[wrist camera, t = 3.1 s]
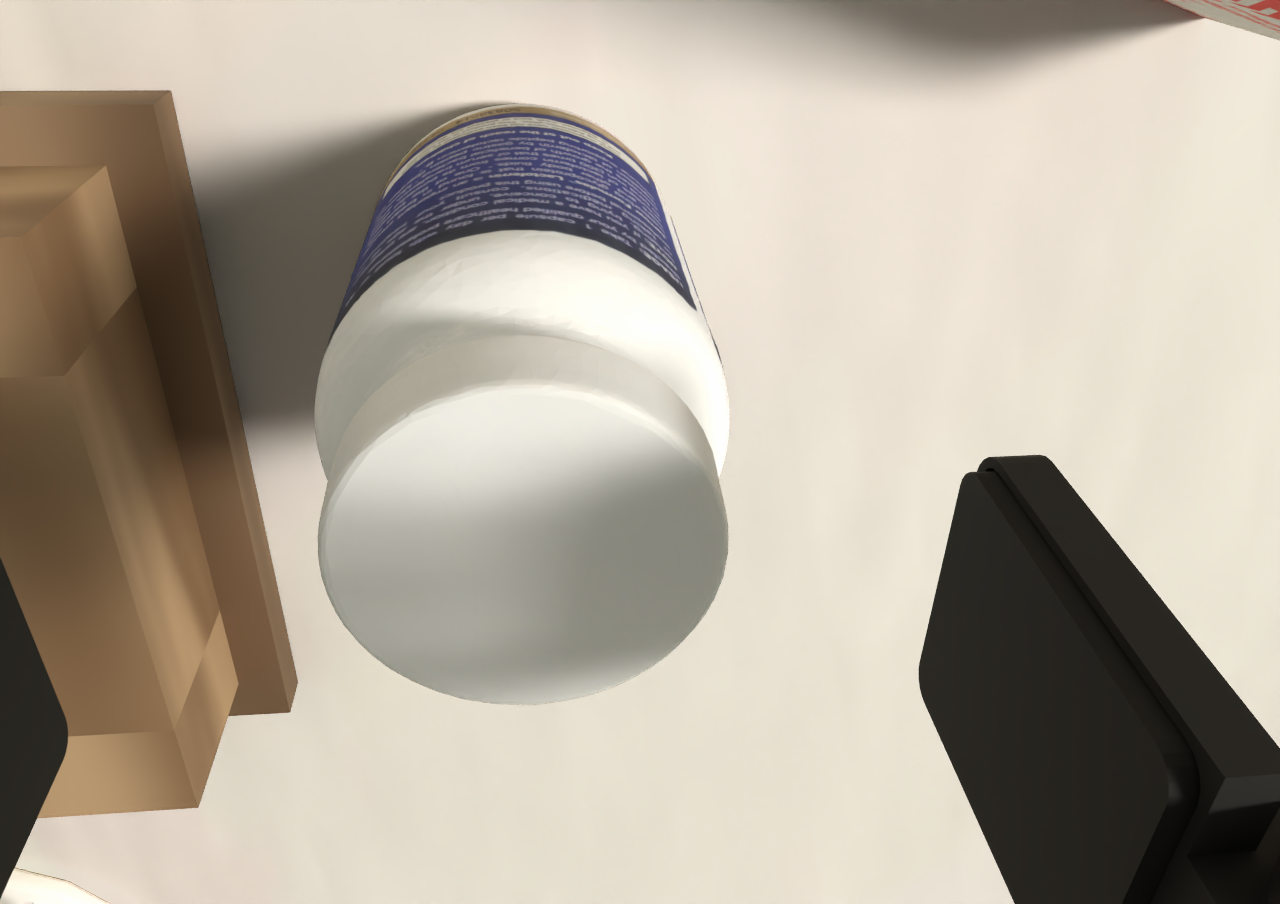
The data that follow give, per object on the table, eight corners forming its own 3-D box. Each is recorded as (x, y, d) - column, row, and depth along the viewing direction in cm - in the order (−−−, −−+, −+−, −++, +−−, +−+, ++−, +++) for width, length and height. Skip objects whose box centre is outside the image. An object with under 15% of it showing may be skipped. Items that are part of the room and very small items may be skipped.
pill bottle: (310, 205, 19) (146, 511, 11) (568, 32, 18) (609, 224, 10) (490, 425, 22) (471, 804, 14) (722, 288, 21) (859, 609, 12)
